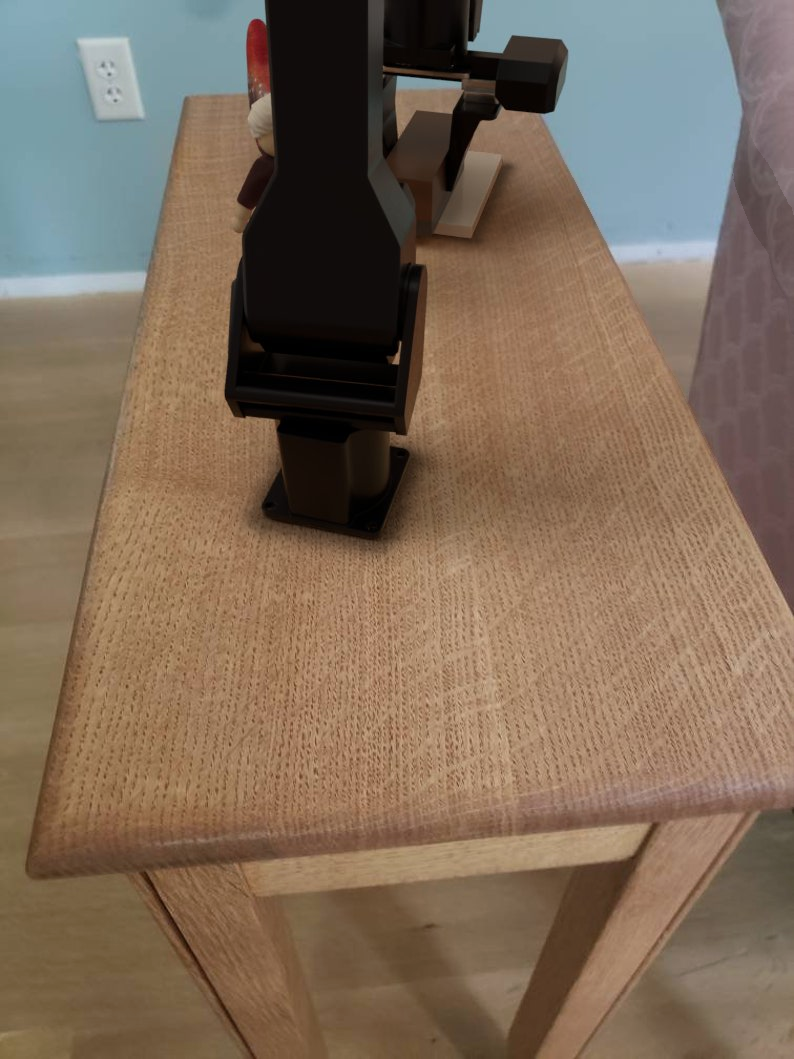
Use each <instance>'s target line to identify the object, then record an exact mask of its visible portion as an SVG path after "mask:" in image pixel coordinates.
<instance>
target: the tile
mask: <svg viewBox="0 0 794 1059" xmlns="http://www.w3.org/2000/svg"><path fill="white" fill-rule="evenodd" d="M503 158H504V157H503V154H500V153H491V152H485V151H484V152H482V151H473V150H468V152H467V154H466V157H465V161H464V170H463V172H462V174H461V176H460V178H459V180H458V183H457V185H456V187H455V189H454V191H453V193H452V195H451V197H450V199H449V201H448V203H447V206H446V208H445V210H444V212H443V214H442V216H441V218H440V220H439V222H438V224H437V227H436V229H435V231H434V233H433V235H440V236H441V235H442V236H449V237H457V238H463V239H472V237H473V235H474V233H475V230H476V228H477V226H478V223H479V221H480V219H481V217H482V214H483V212H484V209H485V206H486V204H487V202H488V200H489V198H490V195H491V192H492V191H493V187H494V185H495V183H496V181H497V178H498V176H499V173H500V171H501V168H502V166H503Z"/></svg>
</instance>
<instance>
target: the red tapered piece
mask: <svg viewBox="0 0 794 1059" xmlns="http://www.w3.org/2000/svg"><path fill="white" fill-rule="evenodd" d="M245 51H246V52H245V53H246V55H245V57H246V75H247V76H246V80H247V98H248V108H249V112H250V111H251V109H252V107H251V105H252V104H254V103H255V102H256V101H257V100H259V99H260V98H262V97H264V96H266V95H267V94H269V93H270V78H269V62H268V47H267V31H266V22H264V21H263V20H262V19H260V18H253V19H251V21H250V22H249V24H248V26H247V30H246V41H245ZM254 140H255V143H256V146H257V149H258V151H259V153H260V155H261V156H262V155H264V154H265V153H266V152H265V151H264V150H263V149H262V148H261V146H260V144H259V142H258V139H257V138H254Z"/></svg>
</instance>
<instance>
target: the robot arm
mask: <svg viewBox="0 0 794 1059" xmlns="http://www.w3.org/2000/svg"><path fill="white" fill-rule="evenodd" d="M483 4H484V0H264V13H265V15H264V16H265V24H266V31H267V47H268V62H269V78H270V94H271V109H272V125H273V140H274V159H275V169H274V172H273V174H272V176H271V178H270V180H269V182H268V184H267V186H266V188H265V190H264V192H263V194H262V196H261V198H260V200H259V202H258V204H257V205H256V207H255V208H254V209H253V211H252V214H251V217H250V219H249V220H248V223H247V225H246V227H245V229H244V231H243V233H241V257H240V259H239V261H238V265H237V269H236V276H235V278H234V279H233V280H232V282H231V285H230V301H229V302H230V305H229V319H228V320H229V321H228V338H227V340H228V341H227V360H226V370H225V371H226V372H225V379H224V380H225V381H224V390H223V391H224V392H223V394H224V399H225V401H226V404H227V406H228V408H229V409H230V412H231V414H232V416H233V417H234V418H239V419H246V418H247V417H248V418H256V419H266V420H274V426H275V433H276V440H277V447H278V453H279V459H280V466H281V467H280V469H279V470H278V472H277V474H276V476H275V478H274V480H273V482H272V484H271V486H270V487H269V490H268V492H267V493H266V495H265V497H264V499H263V501H262V503H261V505H260V507H261V513H262V515H263V516H264V517H266V518H267V519H273V520H277V521H283V522H288V523H293V524H296V525H302V526H307V527H312V528H316V529H321V530H327V531H330V532H331V531H332V532H336V533H341V534H346V535H351V536H356V537H359V538H360V537H361V538H366V539H372V540H373V539H377V538H379V537H381V535H382V534H383V531H384V529H385V526H386V524H387V521H388V518H389V516H390V513H391V511H392V508H393V506H394V503H395V501H396V497H397V495H398V493H399V490H400V487H401V485H402V482H403V480H404V476H405V475H406V471H407V469H408V467H409V464H410V461H411V453H410V451H409V450H408V449H406V448H404V447H400V446H393V445H391V433H395V435H396V436H403V437H407V436H408V435H409V430H410V426H411V422H412V418H413V413H414V411H415V410H414V409H415V405H416V402H417V397H418V394H419V389H420V385H421V381H422V376H423V362H424V348H425V333H426V331H425V330H426V317H427V303H428V302H427V301H428V282H429V281H428V279H429V278H428V276H429V275H428V267H427V264H422V263H417V236H416V215H415V200H414V198H413V196H412V193H411V191H410V188H409V186H408V185H407V183H400V182H397V180H396V178H395V176H394V174H393V173H392V171H391V169H390V167H389V165H388V164H387V162H386V158H387V157H388V155H389V154H390V152H391V150H392V149H393V147H394V145H395V144H396V142H397V141H398V139H399V132H398V120H397V118H398V117H397V108H396V96H397V95H396V94H397V85H398V84H397V82H398V77H404V78H414V79H422V80H423V79H425V80H434V81H435V80H437V81H444V82H445V81H446V82H457V83H461V88H460V89H461V91H462V93H461V95H460V96H459V98H458V99H457V101H456V104H455V105H454V107H453V109H452V113H451V114H452V122H451V132H450V142H449V151H448V161H447V171H446V183H447V192H452V191H453V189H454V187H455V185H456V182H457V179H458V176H459V174H460V171H461V168H462V165H463V163H464V160H465V157H466V154H467V152H468V151H469V150H470V147H471V143H472V142H473V138H474V135H475V132H477V131H476V130H477V129H478V127H479V125H480V124H481V122H483V121H484V122H490V121H495V120H496V119H497V118H498V117H499V114H500V112H501V110H502V108H503V110H505V111H510V112H520V113H531V114H539V115H546V114H550V113H554V112H555V110H556V108H557V105H558V102H559V99H560V96H561V94H562V91H563V88H564V85H565V83H566V77H567V69H568V62H569V49H568V48H567V46H566V45H565V42H564V41H563V39H562V38H551V37H539V36H538V37H537V36H527V35H514V34H512V35H510V38H509V40H508V42H507V44H506V45H505V47H504V50H503V51H502V52H493V51H482V50H471V49H469V48H468V47H469V43H474V42H475V40H476V39H477V36H478V34H479V33H480V31H481V22H482V13H483ZM398 353H399V359H398V363H394V361H395V360H396V356H397V354H398ZM371 528H372V529H371Z"/></svg>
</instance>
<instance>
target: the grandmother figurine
mask: <svg viewBox="0 0 794 1059" xmlns="http://www.w3.org/2000/svg"><path fill="white" fill-rule="evenodd" d="M251 107H252V109H251V111H250V110H249V114H248V116H247V118H246V120H247V124H248V126H249V127H250V130H249V131H250V136H252V137H253V139H255V138H257V139H258V142H259V144H260V146H261V148H262V149H263V150H264V151H265V152H266V153H265V154H264V155H262V154H261V155H260V156H259V157H258V158H256V159H255V160H254V162H253V163H252V165H251V167H250V169H249V171H248V173H247V176H246V177H245V180H244V182H243V184H242V186H241V188H240V191H239V193H238V195H237V197H236V205H235V208H234V217H233V218H232V220H231V229H232V230H233V231H234V232H235V233H237V234H243V231H244V229H245V227H246V225H247V223H248V221H249V219H250V217H251V215H252V213H253V211H254V209H255V207H256V205H257V204H258V202H259V200H260V198H261V196H262V194H263V192H264V190H265V188H266V186H267V184H268V182H269V180H270V178H271V176H272V174H273V172H274V169H275V159H274V140H273V125H272V109H271V94H270V93H269V94H267V95H266V96H264V97H262V98H260V99H259V100H257V101H256V102H255V103H254V104H252V105H251Z"/></svg>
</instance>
